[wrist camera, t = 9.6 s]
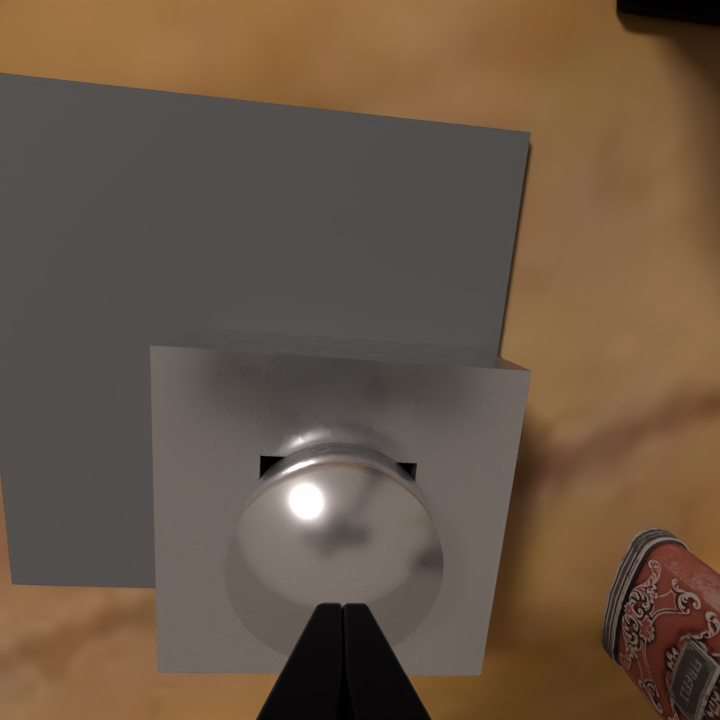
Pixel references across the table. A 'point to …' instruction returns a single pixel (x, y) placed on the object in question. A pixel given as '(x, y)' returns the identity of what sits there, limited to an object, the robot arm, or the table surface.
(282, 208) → the mat
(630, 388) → the table surface
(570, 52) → the table surface
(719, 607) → the lighter
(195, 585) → the hitch block
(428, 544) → the silver door knob
